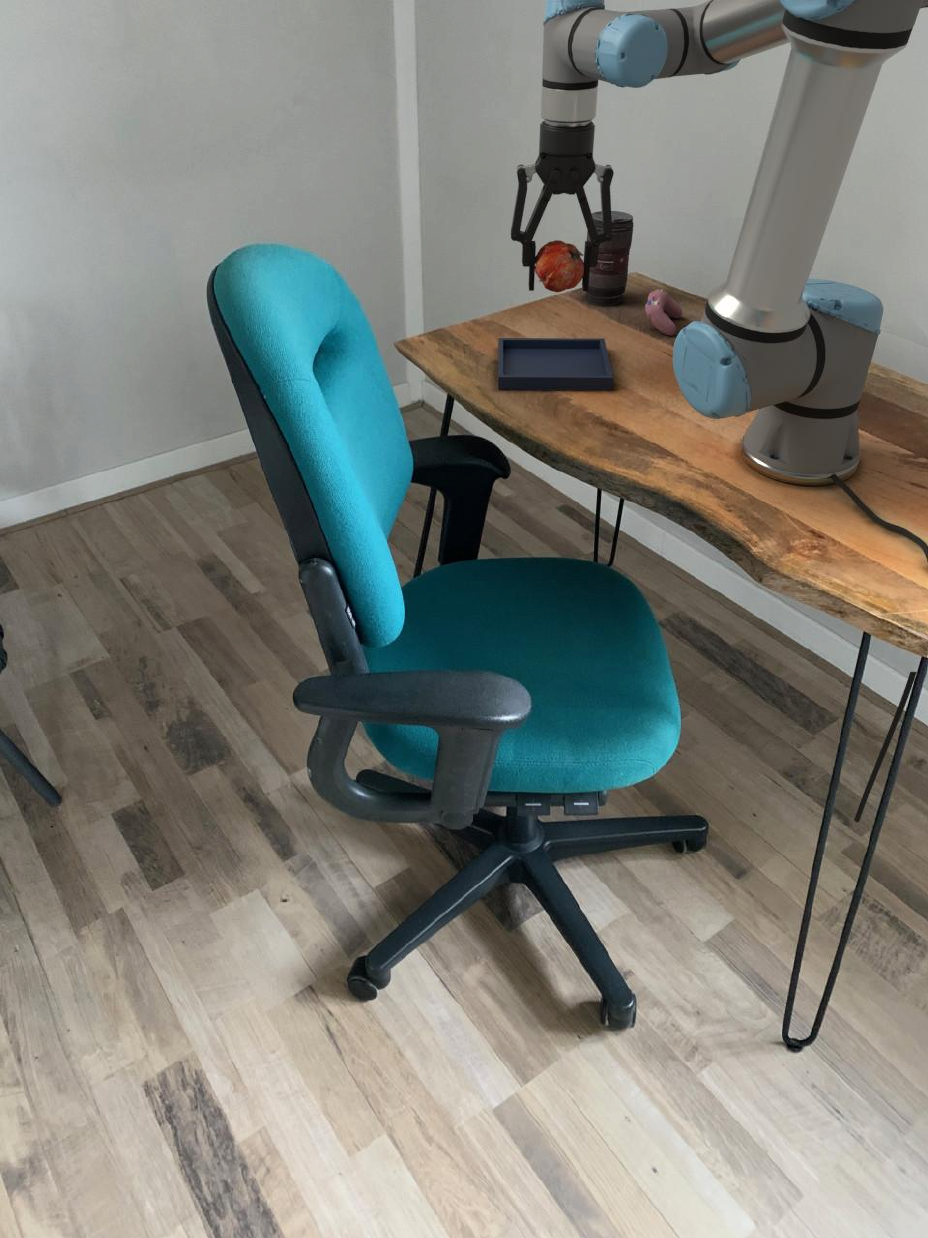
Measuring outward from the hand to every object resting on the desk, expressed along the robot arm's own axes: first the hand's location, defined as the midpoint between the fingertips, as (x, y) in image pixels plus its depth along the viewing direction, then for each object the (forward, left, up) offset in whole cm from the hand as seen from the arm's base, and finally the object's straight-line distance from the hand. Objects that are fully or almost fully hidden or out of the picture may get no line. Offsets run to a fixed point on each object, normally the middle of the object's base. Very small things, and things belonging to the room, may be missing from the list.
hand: (558, 287), depth 144 cm
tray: (0, 0, -13) cm, 13 cm away
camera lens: (+32, -11, -13) cm, 37 cm away
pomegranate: (0, 0, 0) cm, 0 cm away
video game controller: (+19, -20, -14) cm, 31 cm away
